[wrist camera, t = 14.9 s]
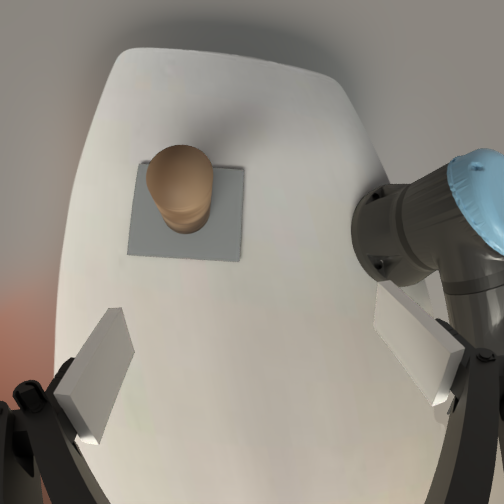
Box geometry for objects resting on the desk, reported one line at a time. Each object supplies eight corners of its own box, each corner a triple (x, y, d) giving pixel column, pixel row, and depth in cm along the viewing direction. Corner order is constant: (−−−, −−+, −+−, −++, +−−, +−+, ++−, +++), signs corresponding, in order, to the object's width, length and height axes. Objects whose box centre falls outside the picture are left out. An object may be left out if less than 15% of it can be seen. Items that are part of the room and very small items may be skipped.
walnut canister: (211, 189, 39) (215, 146, 27) (208, 235, 38) (210, 209, 26) (165, 186, 38) (151, 143, 26) (160, 232, 37) (141, 205, 25)
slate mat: (243, 171, 40) (243, 169, 40) (239, 261, 39) (239, 261, 38) (139, 165, 38) (138, 163, 38) (128, 255, 36) (127, 254, 36)
